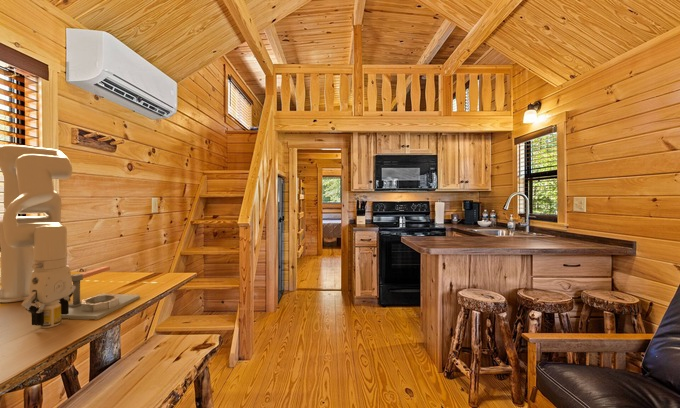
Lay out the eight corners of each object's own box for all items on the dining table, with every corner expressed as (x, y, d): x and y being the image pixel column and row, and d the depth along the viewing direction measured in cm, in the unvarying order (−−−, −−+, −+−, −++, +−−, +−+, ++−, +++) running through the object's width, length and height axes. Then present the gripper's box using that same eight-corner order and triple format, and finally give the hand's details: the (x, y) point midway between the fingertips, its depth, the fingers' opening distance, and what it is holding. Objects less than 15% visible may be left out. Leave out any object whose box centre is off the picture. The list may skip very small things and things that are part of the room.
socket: (80, 314, 102) (80, 306, 102) (81, 304, 110) (81, 297, 110) (119, 307, 109) (119, 300, 108) (117, 299, 117) (117, 292, 117)
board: (96, 319, 101) (97, 290, 100) (47, 317, 101) (47, 288, 101) (139, 298, 122) (139, 273, 121) (98, 296, 122) (98, 272, 122)
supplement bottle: (59, 320, 99) (59, 295, 99) (62, 324, 96) (62, 298, 96) (39, 325, 96) (39, 299, 95) (41, 329, 93) (41, 302, 92)
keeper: (76, 281, 107) (76, 276, 107) (66, 281, 107) (66, 276, 107) (111, 270, 123) (111, 266, 123) (102, 270, 123) (102, 265, 123)
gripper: (34, 271, 87) (34, 332, 87) (86, 258, 104) (86, 309, 105) (8, 270, 87) (8, 331, 87) (64, 258, 104) (64, 308, 105)
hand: (50, 318), depth 96 cm, fingers open, 7 cm apart
